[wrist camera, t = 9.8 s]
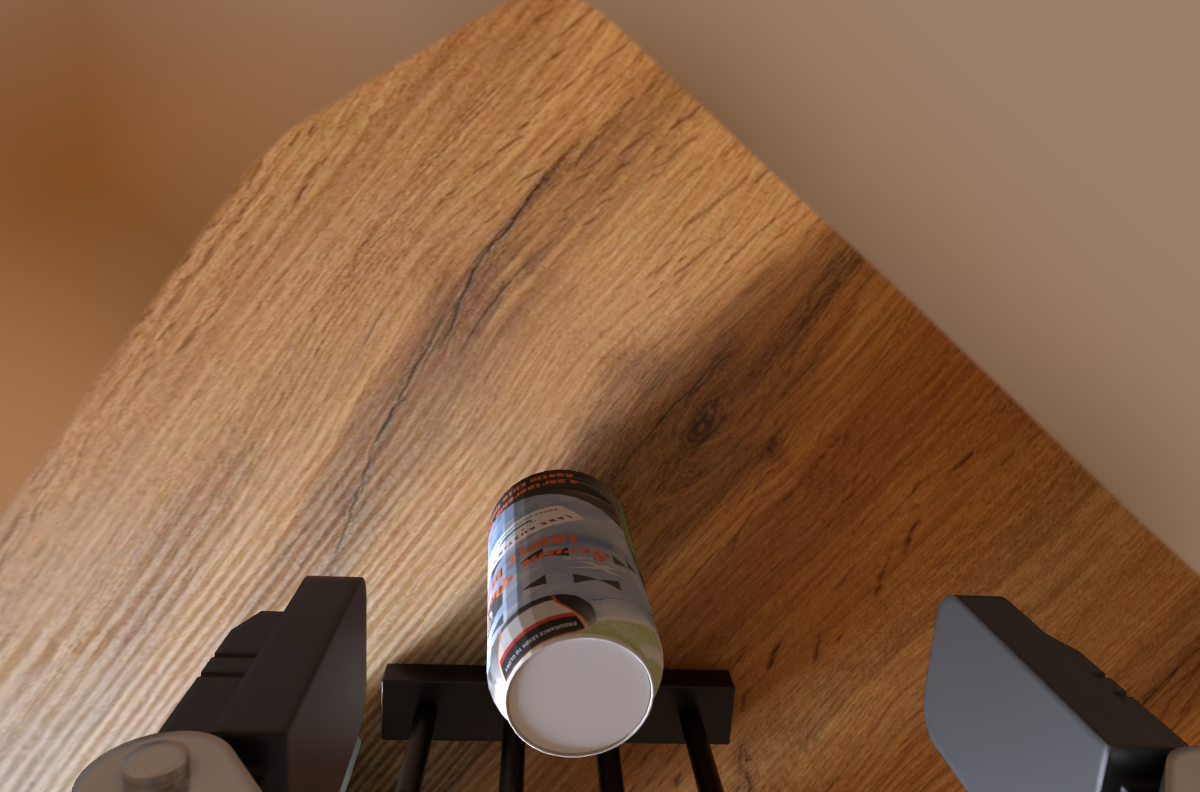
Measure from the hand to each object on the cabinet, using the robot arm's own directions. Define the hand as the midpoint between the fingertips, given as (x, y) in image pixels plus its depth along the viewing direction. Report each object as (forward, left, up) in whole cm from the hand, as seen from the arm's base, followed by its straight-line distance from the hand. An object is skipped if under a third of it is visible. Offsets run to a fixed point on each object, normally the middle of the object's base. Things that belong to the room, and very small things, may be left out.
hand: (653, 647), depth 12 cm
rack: (+17, 0, -26) cm, 31 cm away
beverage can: (+9, 0, -26) cm, 28 cm away
